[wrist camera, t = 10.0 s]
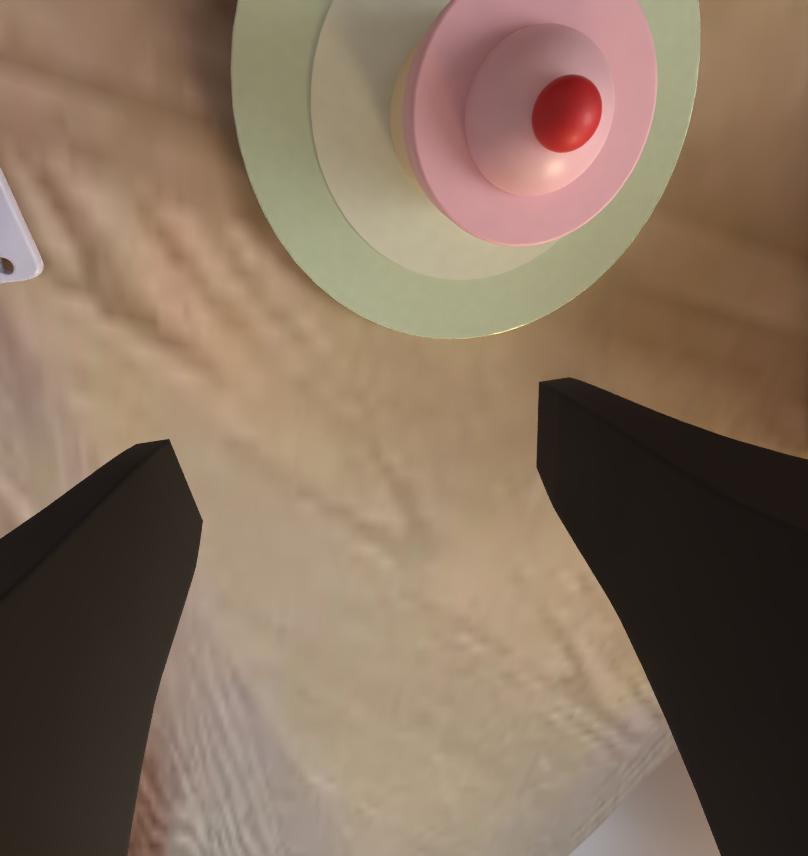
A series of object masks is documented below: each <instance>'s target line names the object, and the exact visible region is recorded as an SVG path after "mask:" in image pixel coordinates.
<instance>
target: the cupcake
mask: <svg viewBox="0 0 808 856" xmlns="http://www.w3.org/2000/svg"><path fill="white" fill-rule="evenodd" d="M656 95H657V61H656V54H655V47H654V42H653V39H652V35H651V31H650V28H649V25H648V23H647V20H646V18H645V15H644V13H643V11H642V9H641V7H640V5H639V4H638V2H637V0H451V1H450V2H449V3H448V4H447V5H446V6H445V7H444V8H443V9H442V10H441V11H440V13H439V14H438V15H437V17H436V18H435V19H434V21H433V22H432V23H431V24H430V26H429V28H428V29H427V31H426V33H425V34H424V35H423V36H422V37H421V38H420V39H419V40H418V41H417V43H416V44H415V45H414V46H413V48H412V49H411V50H410V52H409V53H408V55H407V57H406V58H405V60H404V62H403V64H402V66H401V68H400V70H399V73H398V75H397V78H396V81H395V84H394V88H393V92H392V98H391V105H390V130H391V136H392V142H393V145H394V149H395V153H396V155H397V158H398V160H399V162H400V165H401V166H402V168H403V170H404V172H405V174H406V175H407V176H408V178H409V179H410V180H411V182H412V183H413V184H414V185H415V186H416V187H417V188H418V189H419V190H420V191H421V192H422V193H424V194H425V195H426V196H427V197H428V199H429V200H430V201H431V203H432V204H433V205H434V206H435V207H436V208H437V209H438V210H439V211H440V212H441V213H442V214H444V215H445V216H446V217H447V218H449V219H450V220H451V221H452V222H454V223H455V224H456V225H457V226H459V227H460V228H461V229H463V230H464V231H466V232H467V233H469V234H471V235H473V236H474V237H476V238H479V239H481V240H484V241H487V242H489V243H494V244H498V245H502V246H514V247H521V246H533V245H538V244H543V243H547V242H550V241H553V240H556V239H559V238H561V237H563V236H565V235H567V234H569V233H571V232H573V231H575V230H576V229H578V228H579V227H581V226H583V225H584V224H586V223H587V222H588V221H590V220H591V219H592V218H593V217H595V216H596V215H597V214H598V213H600V212H601V211H602V210H603V209H604V208H605V207H606V206H607V205H608V203H609V202H610V201H611V200H612V199H613V198H614V197H615V196H616V194H617V193H618V192H619V191H620V189H621V188H622V187H623V185H624V184H625V182H626V181H627V179H628V178H629V176H630V175H631V173H632V171H633V169H634V167H635V166H636V164H637V162H638V160H639V158H640V156H641V153H642V151H643V148H644V146H645V143H646V141H647V138H648V135H649V131H650V128H651V124H652V121H653V116H654V110H655V105H656Z"/></svg>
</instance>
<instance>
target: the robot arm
mask: <svg viewBox="0 0 808 856" xmlns="http://www.w3.org/2000/svg"><path fill="white" fill-rule="evenodd" d="M2 258H6V259H8V260H9V261H10V262H11V263H12V264H13V267H14V271H9V270H8V269H6V268H5V267H4V266H3V264H2ZM43 268H44V264H43V260H42V258H41V255H40V253H39V251H38V249H37V247H36V244H35V242H34V240H33V238H32V236H31V233H30V231H29V229H28V227H27V225H26V222H25V220H24V218H23V216H22V214H21V211H20V209H19V207H18V205H17V202H16V200H15V198H14V196H13V194H12V191H11V189H10V187H9V185H8V183H7V180H6V178H5V176H4V174H3V172H2V169H1V167H0V283H7V282H15V281H22V280H29V279H32V278H35V277H37V276H39V275H40V274H41V273H42V272H43ZM537 469H538V472H539V474H540V477H541V479H542V482H543V484H544V487H545V489H546V491H547V494H548V496H549V498H550V501H551V503H552V505H553V507H554V509H555V511H556V512H557V514H558V516H559V518H560V519H561V521H562V523H563V524H564V526H565V528H566V529H567V531H568V533H569V534H570V536H571V538H572V539H573V541H574V543H575V544H576V546H577V548H578V549H579V551H580V552H581V554H582V556H583V557H584V559H585V561H586V562H587V564H588V566H589V567H590V569H591V570H592V572H593V574H594V575H595V577H596V579H597V580H598V582H599V584H600V585H601V587H602V589H603V590H604V592H605V593H606V595H607V597H608V598H609V600H610V602H611V604H612V606H613V608H614V609H615V611H616V613H617V615H618V617H619V618H620V620H621V622H622V625H623V627H624V629H625V631H626V633H627V635H628V637H629V639H630V641H631V644H632V646H633V648H634V650H635V652H636V654H637V656H638V658H639V660H640V663H641V665H642V667H643V669H644V671H645V673H646V676H647V678H648V680H649V682H650V685H651V687H652V689H653V691H654V694H655V696H656V698H657V700H658V703H659V705H660V707H661V709H662V712H663V714H664V716H665V718H666V721H667V723H668V725H669V728H670V730H671V732H672V735H673V737H674V740H675V742H676V744H677V747H678V749H679V752H680V754H681V756H682V759H683V761H684V764H685V766H686V768H687V771H688V773H689V776H690V778H691V780H692V783H693V785H694V788H695V790H696V792H697V794H698V797H699V800H700V803H701V805H702V808H703V810H704V813H705V815H706V818H707V821H708V823H709V826H710V828H711V831H712V834H713V836H714V839H715V841H716V844H717V846H718V849H719V851H720V854H721V856H808V460H807V459H803V458H799V457H795V456H791V455H787V454H783V453H780V452H776V451H773V450H769V449H766V448H762V447H758V446H755V445H751V444H748V443H744V442H741V441H738V440H734V439H731V438H728V437H725V436H722V435H719V434H716V433H713V432H710V431H707V430H705V429H702V428H699V427H696V426H693V425H690V424H688V423H685V422H682V421H680V420H677V419H674V418H672V417H669V416H666V415H664V414H661V413H659V412H656V411H654V410H651V409H649V408H647V407H644V406H642V405H639V404H637V403H634V402H632V401H630V400H627V399H625V398H622V397H620V396H618V395H615V394H613V393H611V392H608V391H606V390H603V389H601V388H598V387H596V386H593V385H591V384H588V383H586V382H583V381H580V380H577V379H574V378H570V377H569V378H562V379H556V380H549V381H543V382H539V402H538V435H537ZM202 523H203V520H202V518H201V515H200V513H199V511H198V508H197V506H196V503H195V501H194V498H193V496H192V494H191V491H190V489H189V486H188V484H187V481H186V479H185V477H184V474H183V472H182V469H181V467H180V464H179V462H178V460H177V457H176V455H175V452H174V450H173V447H172V445H171V443H170V440H169V439H166V440H160V441H153V442H147V443H140V444H136V445H134V446H132V447H131V448H129V449H127V450H125V451H124V452H122V453H121V454H119V455H118V456H116V457H115V458H113V459H112V460H110V461H109V462H108V463H106V464H105V465H103V466H102V467H101V468H99V469H98V470H96V471H95V472H94V473H92V474H91V475H90V476H88V477H87V478H85V479H84V480H83V481H81V482H80V483H79V484H77V485H76V486H75V487H73V488H72V489H70V490H69V491H68V492H66V493H65V494H64V495H62V496H61V497H60V498H58V499H57V500H55V501H54V502H53V503H51V504H50V505H49V506H47V507H46V508H44V509H43V510H42V511H40V512H39V513H37V514H36V515H34V516H33V517H31V518H30V519H29V520H27V521H26V522H24V523H23V524H21V525H20V526H18V527H17V528H15V529H14V530H13V531H11V532H10V533H8V534H7V535H5V536H4V537H2V538H1V539H0V856H127V854H128V847H129V840H130V834H131V827H132V821H133V815H134V809H135V803H136V798H137V792H138V786H139V781H140V775H141V769H142V763H143V758H144V753H145V748H146V743H147V738H148V733H149V728H150V723H151V718H152V713H153V708H154V704H155V700H156V696H157V692H158V688H159V685H160V681H161V677H162V674H163V671H164V668H165V664H166V661H167V658H168V655H169V652H170V649H171V645H172V642H173V639H174V636H175V633H176V630H177V626H178V623H179V620H180V617H181V614H182V611H183V608H184V604H185V601H186V598H187V595H188V591H189V588H190V585H191V582H192V578H193V575H194V571H195V568H196V563H197V557H198V551H199V545H200V538H201V531H202Z"/></svg>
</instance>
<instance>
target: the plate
mask: <svg viewBox="0 0 808 856" xmlns="http://www.w3.org/2000/svg"><path fill="white" fill-rule="evenodd" d="M450 1H451V0H237V6H236V12H235V18H234V23H233V29H232V46H231V64H230V76H231V93H232V109H233V115H234V121H235V127H236V132H237V138H238V144H239V148H240V151H241V155H242V158H243V162H244V165H245V168H246V172H247V175H248V179H249V181H250V184H251V186H252V188H253V191H254V193H255V196H256V198H257V200H258V203H259V205H260V207H261V210H262V212H263V214H264V215H265V217H266V219H267V221H268V222H269V224H270V226H271V228H272V229H273V231H274V233H275V235H276V236H277V238H278V240H279V241H280V242H281V244H282V245H283V246H284V248H285V249H286V251H287V252H288V253H289V255H290V256H291V257H292V259H293V260H294V261H295V263H296V264H297V265H298V266H299V267H300V268H301V269H302V270H303V271H304V272H305V273H306V274H307V275H308V277H309V278H310V279H311V280H312V281H313V282H314V283H315V284H316V285H317V286H319V287H320V288H321V289H322V290H323V291H325V292H326V293H327V294H328V295H329V296H331V297H332V298H333V299H334V300H336V301H337V302H338V303H340V304H342V305H343V306H345V307H346V308H348V309H349V310H351V311H353V312H354V313H356V314H357V315H359V316H361V317H363V318H365V319H368V320H370V321H372V322H374V323H376V324H378V325H380V326H383V327H386V328H389V329H392V330H395V331H399V332H402V333H405V334H410V335H415V336H421V337H426V338H438V339H464V338H477V337H483V336H488V335H493V334H498V333H503V332H506V331H509V330H512V329H515V328H518V327H521V326H524V325H527V324H529V323H531V322H533V321H535V320H537V319H540V318H542V317H544V316H546V315H548V314H550V313H552V312H553V311H555V310H557V309H558V308H560V307H561V306H563V305H565V304H566V303H568V302H570V301H571V300H573V299H574V298H575V297H577V296H578V295H579V294H580V293H582V292H583V291H584V290H586V289H587V288H588V287H590V286H591V285H592V284H593V283H594V282H596V281H597V280H598V279H599V278H600V277H601V276H602V275H603V274H604V273H605V272H606V271H607V270H608V269H609V268H610V267H611V266H612V265H613V264H614V263H615V262H616V261H617V260H618V258H619V257H620V256H621V255H622V254H623V253H624V251H625V250H626V249H627V248H628V247H629V246H630V244H631V243H632V242H633V241H634V239H635V238H636V236H637V235H638V233H639V232H640V230H641V229H642V228H643V226H644V225H645V223H646V222H647V220H648V219H649V217H650V216H651V214H652V212H653V210H654V209H655V207H656V205H657V203H658V201H659V200H660V198H661V196H662V194H663V192H664V191H665V189H666V186H667V184H668V182H669V179H670V177H671V175H672V172H673V170H674V168H675V166H676V163H677V161H678V158H679V155H680V152H681V149H682V146H683V143H684V140H685V137H686V134H687V130H688V127H689V123H690V118H691V114H692V109H693V104H694V100H695V95H696V89H697V80H698V71H699V62H700V10H699V1H698V0H637V2H638V4H639V5H640V7H641V9H642V11H643V13H644V15H645V18H646V20H647V23H648V25H649V28H650V31H651V35H652V39H653V42H654V47H655V54H656V61H657V95H656V105H655V110H654V116H653V121H652V124H651V128H650V131H649V135H648V138H647V141H646V143H645V146H644V148H643V151H642V153H641V156H640V158H639V160H638V162H637V164H636V166H635V167H634V169H633V171H632V173H631V175H630V176H629V178H628V179H627V181H626V182H625V184H624V185H623V187H622V188H621V189H620V191H619V192H618V193H617V194H616V196H615V197H614V198H613V199H612V200H611V201H610V202H609V203H608V205H607V206H606V207H605V208H604V209H603V210H602V211H601V212H600V213H598V214H597V215H596V216H595V217H593V218H592V219H591V220H590V221H588V222H587V223H586V224H584V225H583V226H581V227H579V228H578V229H576V230H575V231H573V232H571V233H569V234H567V235H565V236H563V237H561V238H559V239H556V240H553V241H550V242H547V243H543V244H538V245H533V246H521V247H514V246H502V245H498V244H494V243H489V242H487V241H484V240H481V239H479V238H476V237H474V236H473V235H471V234H469V233H467V232H466V231H464V230H463V229H461V228H460V227H459V226H457V225H456V224H455V223H454V222H452V221H451V220H450V219H449V218H447V217H446V216H445V215H444V214H442V213H441V212H440V211H439V210H438V209H437V208H436V207H435V206H434V205H433V204H432V203H431V201H430V200H429V199H428V197H427V196H426V195H425V194H424V193H422V192H421V191H420V190H419V189H418V188H417V187H416V186H415V185H414V184H413V183H412V182H411V180H410V179H409V178H408V176H407V175H406V174H405V172H404V170H403V168H402V166H401V165H400V162H399V160H398V158H397V155H396V153H395V149H394V145H393V142H392V136H391V130H390V105H391V98H392V92H393V88H394V84H395V81H396V78H397V75H398V73H399V70H400V68H401V66H402V64H403V62H404V60H405V58H406V57H407V55H408V53H409V52H410V50H411V49H412V48H413V46H414V45H415V44H416V43H417V41H418V40H419V39H420V38H421V37H422V36H423V35H424V34H425V33H426V31H427V29H428V28H429V26H430V24H431V23H432V22H433V21H434V19H435V18H436V17H437V15H438V14H439V13H440V11H441V10H442V9H443V8H444V7H445V6H446V5H447V4H448V3H449V2H450Z"/></svg>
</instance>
